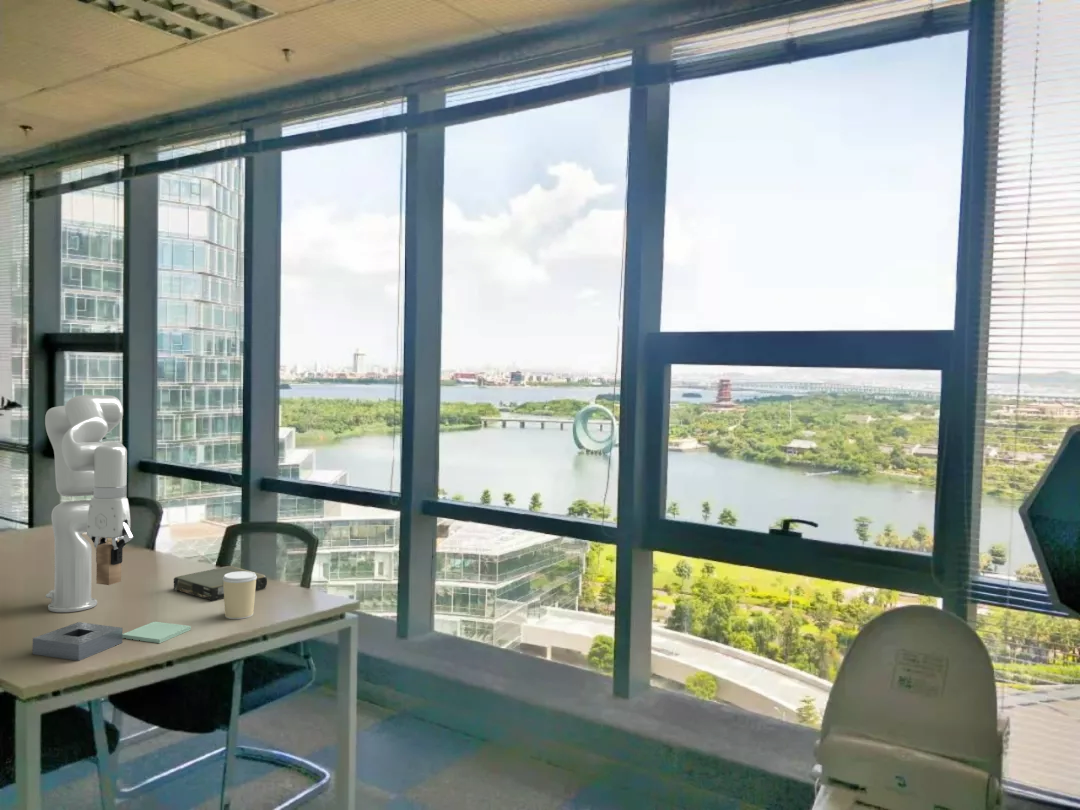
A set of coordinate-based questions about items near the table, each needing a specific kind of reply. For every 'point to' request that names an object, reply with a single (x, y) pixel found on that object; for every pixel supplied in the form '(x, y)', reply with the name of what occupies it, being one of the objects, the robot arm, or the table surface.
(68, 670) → the table surface
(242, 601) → the coffee cup
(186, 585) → the network switch
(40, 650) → the hole block
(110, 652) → the table surface
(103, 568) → the walnut peg
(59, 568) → the robot arm
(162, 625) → the green pad
